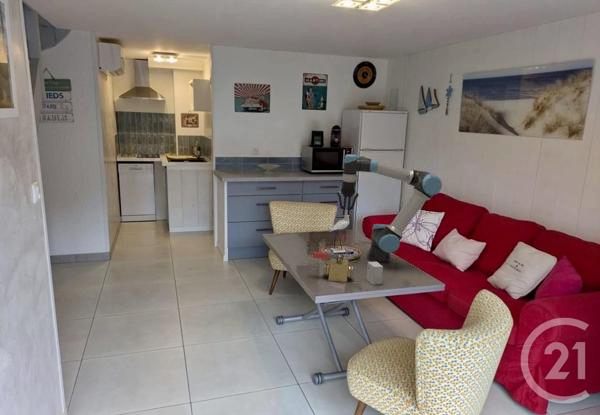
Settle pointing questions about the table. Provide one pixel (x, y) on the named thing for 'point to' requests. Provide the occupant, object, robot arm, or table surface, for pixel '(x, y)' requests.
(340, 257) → the lever
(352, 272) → the pipe
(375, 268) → the small box
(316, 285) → the table surface
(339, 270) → the valve body
